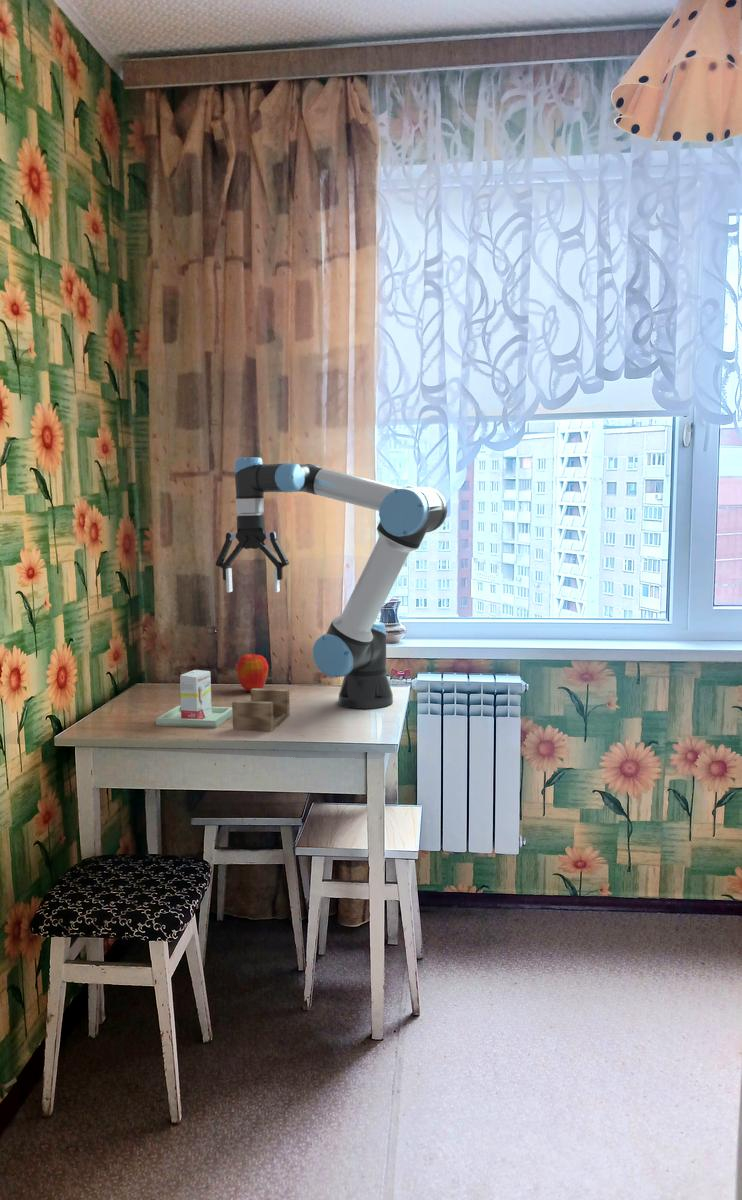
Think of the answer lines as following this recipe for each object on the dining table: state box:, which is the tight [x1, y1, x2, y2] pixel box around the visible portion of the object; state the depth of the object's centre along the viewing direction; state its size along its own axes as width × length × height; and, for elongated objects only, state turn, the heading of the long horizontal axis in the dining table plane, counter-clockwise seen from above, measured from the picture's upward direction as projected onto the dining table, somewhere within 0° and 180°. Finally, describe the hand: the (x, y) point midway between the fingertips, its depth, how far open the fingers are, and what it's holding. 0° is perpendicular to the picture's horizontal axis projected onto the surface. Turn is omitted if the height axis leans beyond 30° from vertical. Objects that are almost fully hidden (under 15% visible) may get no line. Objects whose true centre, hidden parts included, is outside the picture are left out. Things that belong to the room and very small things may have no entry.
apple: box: [236, 652, 269, 693], centre depth 270 cm, size 9×9×12 cm
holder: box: [231, 688, 291, 732], centre depth 235 cm, size 10×16×7 cm, turn 168°
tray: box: [155, 705, 233, 729], centre depth 239 cm, size 16×14×2 cm
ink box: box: [179, 669, 212, 719], centre depth 238 cm, size 9×5×12 cm, turn 163°
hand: (253, 592), depth 252 cm, fingers open, 13 cm apart
